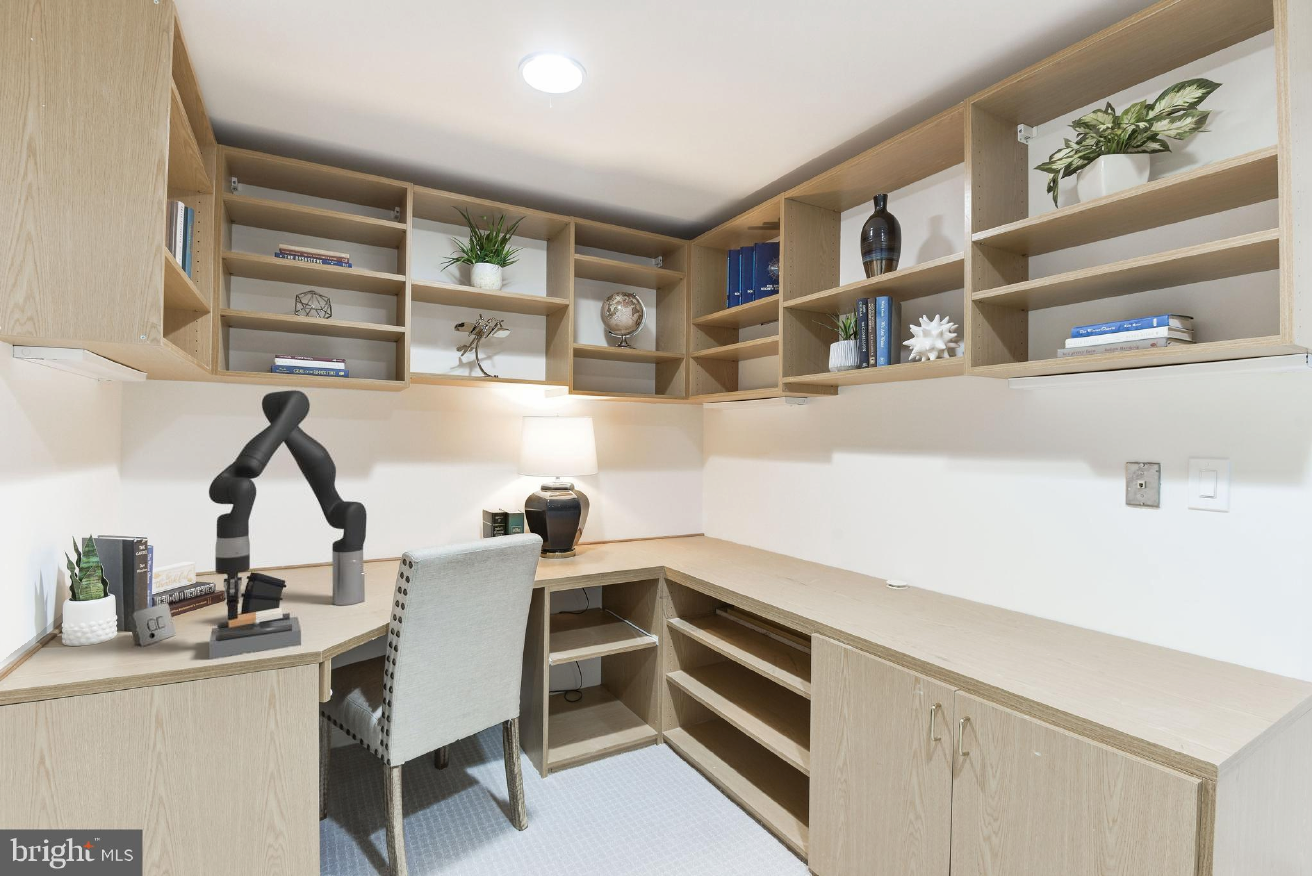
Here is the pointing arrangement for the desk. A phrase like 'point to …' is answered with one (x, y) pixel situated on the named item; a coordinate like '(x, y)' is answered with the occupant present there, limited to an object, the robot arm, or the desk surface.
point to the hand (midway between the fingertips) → (232, 619)
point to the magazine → (261, 593)
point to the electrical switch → (152, 624)
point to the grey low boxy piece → (254, 636)
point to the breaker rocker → (256, 617)
